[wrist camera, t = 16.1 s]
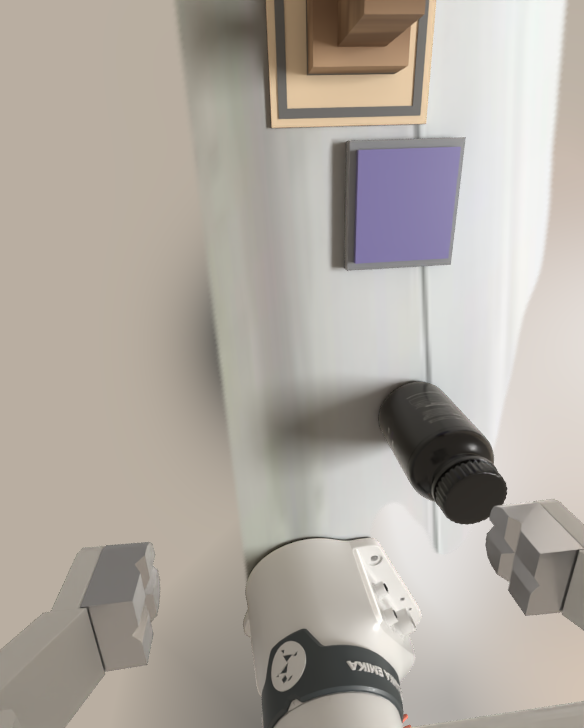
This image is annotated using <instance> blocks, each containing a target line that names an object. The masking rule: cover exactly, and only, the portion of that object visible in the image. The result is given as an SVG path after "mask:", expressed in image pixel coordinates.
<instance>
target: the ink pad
mask: <svg viewBox="0 0 584 728" xmlns="http://www.w3.org/2000/svg"><path fill="white" fill-rule="evenodd" d="M465 138H466V137H461V138H428V139H395V140H362V141H347V144H346V203H345V263H344V268H345V269H346V270H347V271H348V270H365V269H382V268H399V267H416V266H433V265H450V264H451V257H452V249H453V240H454V232H455V223H456V214H457V206H458V197H459V189H460V180H461V172H462V163H463V155H464V146H465Z"/></svg>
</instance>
